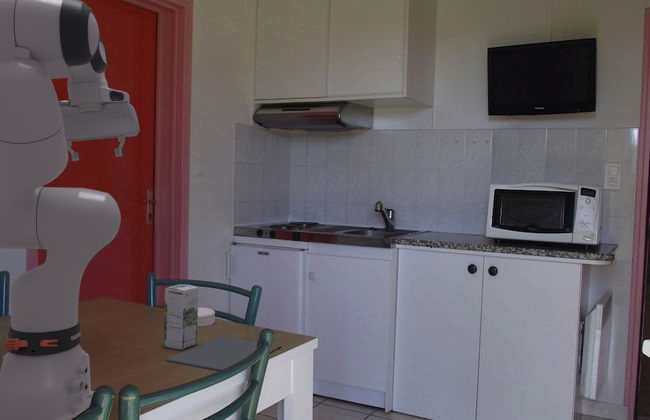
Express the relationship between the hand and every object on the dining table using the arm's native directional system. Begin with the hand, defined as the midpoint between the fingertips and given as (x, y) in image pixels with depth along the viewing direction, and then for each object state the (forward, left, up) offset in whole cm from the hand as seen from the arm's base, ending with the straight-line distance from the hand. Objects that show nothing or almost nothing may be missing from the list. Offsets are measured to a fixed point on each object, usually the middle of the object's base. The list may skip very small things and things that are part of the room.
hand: (97, 158), depth 148 cm
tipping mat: (-7, -30, -45) cm, 54 cm away
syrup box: (+1, -19, -45) cm, 49 cm away
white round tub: (+24, -22, -45) cm, 55 cm away
